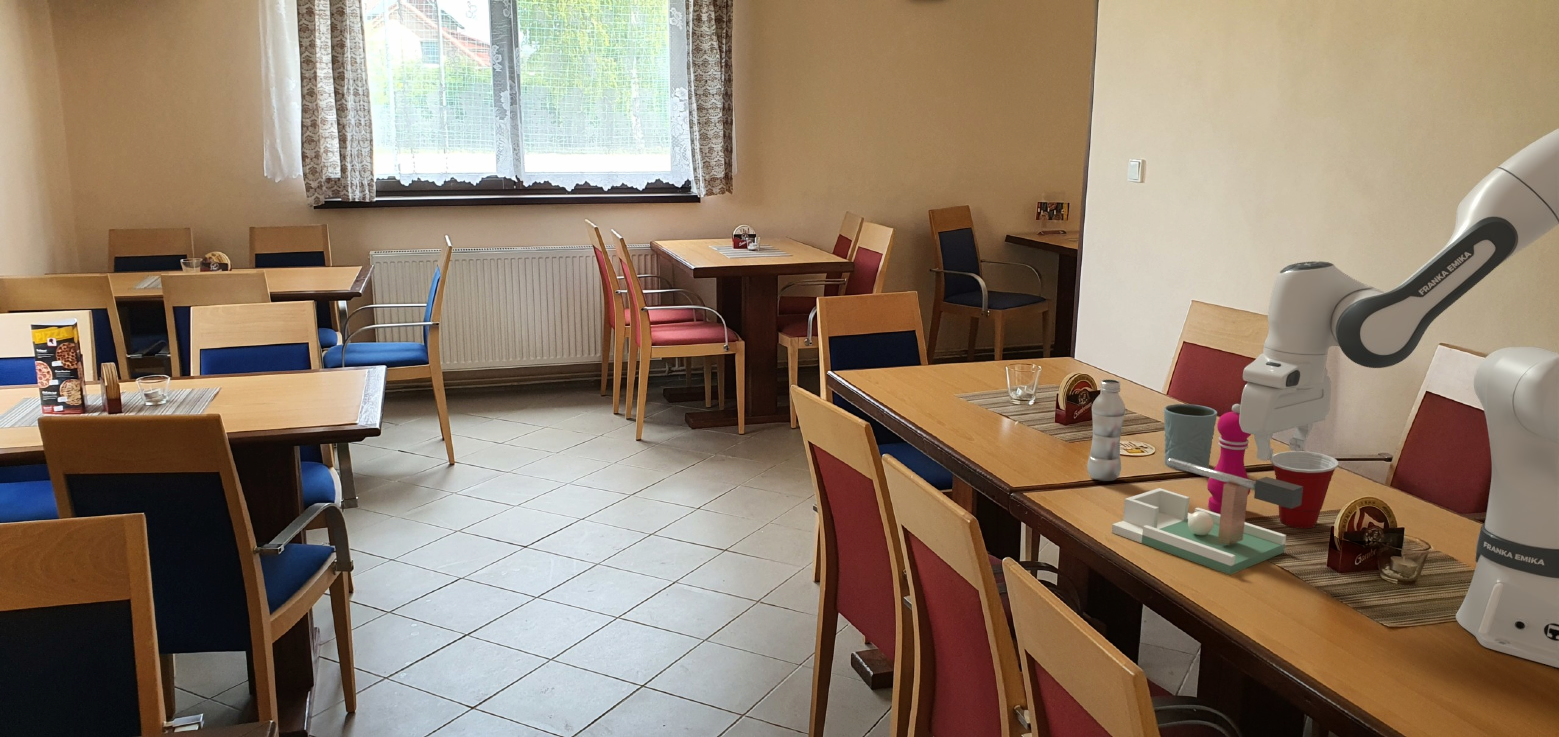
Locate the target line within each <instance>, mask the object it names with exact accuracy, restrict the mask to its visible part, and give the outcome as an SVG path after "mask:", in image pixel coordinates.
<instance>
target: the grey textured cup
mask: <svg viewBox="0 0 1559 737" xmlns="http://www.w3.org/2000/svg"><path fill="white" fill-rule="evenodd" d="M1163 412H1164V413H1163V414H1164V416H1163V417H1164V465H1165V466H1167V467H1168V468H1170V469H1173V470H1175V471H1182V472H1186V471H1185V470H1182V469H1178V468H1175V467H1171V466H1169V465H1168V464H1167V460H1168V459H1169V458H1173V459H1177V460H1180V461H1184V462H1187V463H1191V464H1195V465H1198V466H1202V467H1205V468H1209V467H1210V459H1211V453H1212V451H1211V450H1212V445H1213V439H1214V434H1215V426H1216V424H1217V423H1216V422H1217V417H1218V411H1217V410H1215V409H1214V408H1211V407H1208V406H1204V405H1198V404H1189V403H1175V404H1170V405H1166V406H1165V407H1164V409H1163ZM1187 473H1189V471H1187Z"/></svg>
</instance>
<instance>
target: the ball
mask: <svg viewBox="0 0 1559 737" xmlns="http://www.w3.org/2000/svg"><path fill="white" fill-rule="evenodd" d="M1191 514H1192V515H1191V516H1190V517H1189V519H1188V527H1189V529H1190V530H1191V531H1192V532H1193V533H1194V534H1196V535H1206V534H1208V533H1210V532H1211V530H1212V529H1213V519H1212V518H1211V516H1210V515H1209V514H1207V513H1205V512H1202V511H1198V512H1195V511H1194V512H1193V513H1191Z"/></svg>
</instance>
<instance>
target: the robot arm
mask: <svg viewBox="0 0 1559 737" xmlns="http://www.w3.org/2000/svg"><path fill="white" fill-rule="evenodd" d="M1454 225H1455V226H1454V229H1453V231H1452V234H1451V237H1450V238H1449V240H1448V241H1447V243H1446V244H1445V245H1444V246H1443V247H1442V248H1441V250H1439V252H1437V253H1436V254H1435V255H1434V256H1432V257H1431V258H1430V259H1428V261H1427V262H1425V263H1424V264H1423V265H1422V266H1420V267H1419V268H1418V269H1417V270H1416V271H1415V272H1413V273H1412V274H1410V275H1409V277H1407V278H1406V279H1405V280H1404V281H1402V282H1401V283H1400V284H1399V285H1397V286H1396V287H1394V288H1393V289H1391V290H1388V291H1383V290H1381V289H1379V288H1376V287H1373V286H1371V285H1368V284H1365V283H1364V282H1361V281H1359V280H1357V279H1355V278H1354V277H1351V276H1350V275H1348V274H1346V273H1345V272H1343V271H1341V269H1339V268H1338V267H1336V265H1335V264H1334V263H1332V262H1329V261H1320V260H1319V261H1303V262H1302V261H1301V262H1296V263H1295V262H1294V264H1289V265H1287V266H1285V267H1283V268H1282V269H1281V270H1280V271H1279V272H1278V274H1277V276H1276V278H1275V280H1274V283H1273V287H1272V290H1271V295H1270V300H1269V305H1268V311H1267V313H1268V314H1267V322H1268V332H1267V336H1266V338H1265V341H1264V342H1263V349H1262V353H1260V354H1259V355H1258V357H1256V359H1255V360H1253V361H1252V362H1250V363H1248V364H1247V365H1246V366H1245V367H1244V369H1243V373H1242V380H1243V381H1245V382H1247V383H1246V384H1245V385H1244V387H1243V389H1242V392H1241V393H1242V394H1241V400H1240V405H1241V407H1240V418H1239V424H1240V427H1241V430H1242V431H1243V432H1246V433H1249V434H1251V435H1253V438H1254V442H1255V445H1256V448H1257V449H1256V458H1257V460H1260V461H1264V462H1266V461H1270V459H1272V457H1273V456H1272V455H1274V448H1272V447H1271V440H1272V439H1273V436H1274V435H1273V434H1275V433H1280V432H1283V431H1284V432H1285V431H1288V430H1291V429H1295V430H1294V432H1293V436H1292V437H1291V438H1289V444H1288V448H1289V451H1297V452H1298V451H1304V450H1305V449H1306V448H1305V446H1306V440H1308V437H1309V435H1310V434H1311V432H1312V429H1313V424H1315V423H1318V422H1323V421H1325V420H1326V419H1327V417H1328V415H1329V413H1330V406H1331V398H1332V397H1331V393H1332V381H1331V378H1330V377H1329V376H1328V369H1327V368H1326V367H1327V358H1328V352H1329V349H1330V348H1331V347H1339V348H1340V350H1341V352H1342V353H1343V354H1344V355H1345V356H1346V357H1347V358H1348V360H1350V361H1351V362H1353V363H1355V364H1357V365H1359V366H1361V367H1364V368H1370V369H1371V368H1372V369H1384V368H1388V367H1392V366H1395V365H1397V364H1399V363H1401V362H1403V361H1404V360H1406V359H1407V358H1409V356H1411V354H1412V353H1413V352H1414V351H1415V350H1416V348H1417V347H1418V344H1419V343H1420V341H1421V340H1422V338H1423V336H1424V334H1425V332H1426V331H1427V329H1428V328H1429V326H1430V325H1431V324H1432V323H1433V322H1434V321H1435V320H1436V318H1438V317H1439V316H1440V315H1441V314H1442V313H1443V312H1445V311H1446V310H1447V309H1448V308H1449V307H1450V306H1452V305H1453V304H1454V303H1455V302H1457V301H1458V300H1459V299H1460V298H1462V297H1463V296H1464V295H1465V294H1467V292H1469V291H1470V290H1472V289H1473V287H1475V286H1476V285H1477V284H1479V283H1480V282H1481V281H1482V280H1484V279H1485V278H1486V277H1487V276H1488V275H1489V274H1490V273H1491V272H1492V271H1494V270H1495V269H1496V268H1497V267H1499V266H1500V265H1502V264H1503V263H1505V262H1506V261H1507V260H1509V259H1511V257H1513V256H1514V255H1516V254H1518V253H1519V252H1520V251H1522V250H1524V249H1525V248H1526V247H1528V246H1530V245H1531V244H1533V243H1534V242H1536V241H1537V240H1538V239H1540V238H1541V237H1543V236H1545V235H1546V234H1547V233H1548V232H1550V231H1551V230H1553V229H1554V228H1555V227H1557V226H1558V225H1559V128H1556V129H1555V130H1552V131H1551V132H1549V133H1547V134H1545V135H1542V137H1540V138H1538V139H1537V140H1535V141H1534V142H1532V143H1530V144H1528V145H1526V147H1523V148H1522V149H1520V150H1519V151H1518V152H1516V153H1515V154H1513V155H1512V156H1510V157H1509V158H1507V159H1506V160H1505V161H1503V162H1501V164H1500V165H1498V166H1497V167H1496V168H1495V169H1492V171H1491V172H1490V173H1488V174H1487V175H1485V177H1483V178H1481V180H1480V181H1478V182H1477V184H1476V185H1475V186H1474V187H1473V188H1472V189H1471V190H1470V191H1469V192H1468V193H1467V194H1466V195H1465V196H1464V198H1463V199H1462V200H1461V201H1460V202H1459V204H1458V206H1457V208H1456V212H1455V224H1454ZM1473 389H1474V392H1475V394H1476V396H1477V398H1478V400H1479V403H1480V404H1481V406H1482V409H1483V412H1484V416H1485V419H1486V421H1485V422H1486V425H1487V433H1488V439H1489V447H1490V456H1491V457H1490V458H1491V480H1490V481H1491V482H1490V489H1489V495H1488V502H1487V509H1486V514H1485V515H1486V516H1485V521H1484V523H1482V524H1481V526H1480V529H1479V533H1478V536H1477V541H1476V546H1475V554H1476V555H1475V563H1476V566H1475V569H1474V572H1473V576H1472V578H1471V582H1470V585H1469V588H1468V591H1467V593H1466V595H1465V597H1464V599H1463V602H1462V603H1461V605H1460V607H1459V609H1458V611H1457V613H1456V614H1455V619H1456V621H1457V622H1458V623H1459V625H1460V626H1461V627H1462V628H1463V629H1465V630H1466V631H1468V632H1469V633H1470V634H1471V635H1473V636H1474V637H1475V638H1476V640H1477V641H1478V643H1479V644H1480V645H1481V646H1482V647H1484V648H1487V649H1489V650H1490V649H1491V650H1493V651H1497V652H1500V653H1504V654H1508V655H1510V656H1511V655H1512V656H1515V657H1518V658H1522V659H1526V660H1529V661H1533V662H1536V663H1540V664H1545V665H1548V666H1551V667H1553V668H1554V667H1555V668H1558V669H1559V352H1556V351H1553V350H1549V349H1546V348H1542V347H1537V346H1508V347H1503V348H1500V349H1497V350H1495V351H1493V352H1491V353H1490V354H1488V355H1487V356H1485V357H1484V358H1483V359H1482V360H1481V362H1480V363H1479V365H1478V366H1477V368H1476V370H1475V373H1474V377H1473Z"/></svg>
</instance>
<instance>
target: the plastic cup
mask: <svg viewBox="0 0 1559 737" xmlns="http://www.w3.org/2000/svg"><path fill="white" fill-rule="evenodd" d="M1272 456H1273V457H1272V459H1270V460H1269V461H1270V463H1271V464H1272V466H1273V470H1274V476H1275V479H1277V480H1280V481H1284V482H1288V483H1291V484H1295V485H1299V486H1302V487H1303V493H1302V501H1301V505H1300V506H1297V507H1295V508H1292V509H1289V508H1286V507H1283V506H1279V505H1278V518H1279V521H1280V522H1281V523H1282V524H1283V525H1286V526H1288V527H1291V528H1297V529H1311V527H1313V528H1314V526H1316V524H1317V523H1318V519H1319V516H1320V513H1321V510H1322V509H1323V505H1324V502H1325V498H1326V496H1327V492H1328V489H1329V486H1330V482H1331V481H1332V477H1333V476H1334V473H1335V470H1336V469H1337V468H1338V467H1339V461H1338V460H1337V459H1336V458H1335V457H1332V456H1330V455H1327V454H1324V453H1319V452H1313V451H1304V450H1301V451H1298V452H1297V451H1293V450H1289V451H1283V452H1277V453H1275V454H1274V453H1273V454H1272Z"/></svg>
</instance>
